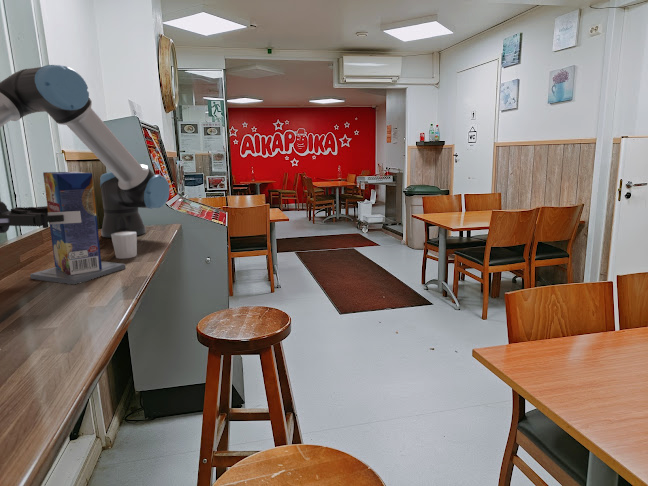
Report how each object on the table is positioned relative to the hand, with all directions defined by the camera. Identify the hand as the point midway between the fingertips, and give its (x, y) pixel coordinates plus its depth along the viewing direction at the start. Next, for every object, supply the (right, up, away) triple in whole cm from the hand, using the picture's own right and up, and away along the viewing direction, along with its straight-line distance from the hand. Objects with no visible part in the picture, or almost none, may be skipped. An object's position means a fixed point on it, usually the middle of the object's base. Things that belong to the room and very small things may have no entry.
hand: (86, 212), depth 106 cm
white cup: (+1, -12, +20) cm, 23 cm away
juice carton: (-3, -14, +2) cm, 15 cm away
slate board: (-3, -15, +2) cm, 16 cm away
